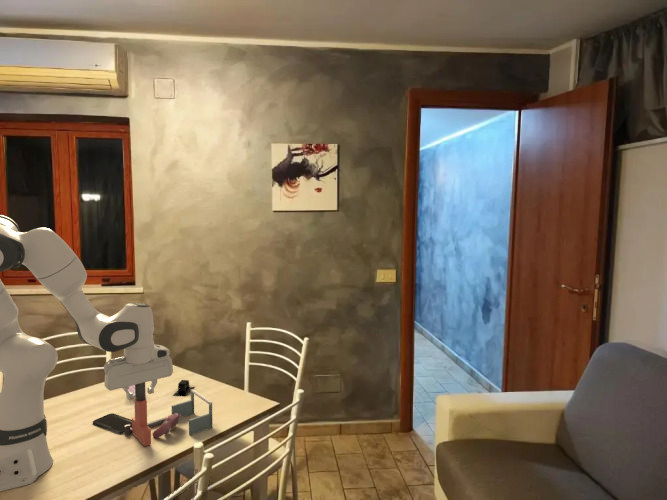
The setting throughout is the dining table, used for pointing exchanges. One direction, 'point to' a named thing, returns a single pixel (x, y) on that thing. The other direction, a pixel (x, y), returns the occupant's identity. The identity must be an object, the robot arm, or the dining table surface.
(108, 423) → the phone
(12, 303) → the robot arm
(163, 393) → the dining table surface
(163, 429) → the video game controller
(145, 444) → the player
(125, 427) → the rail
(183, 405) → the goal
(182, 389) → the black piece
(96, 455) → the dining table surface
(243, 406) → the dining table surface
